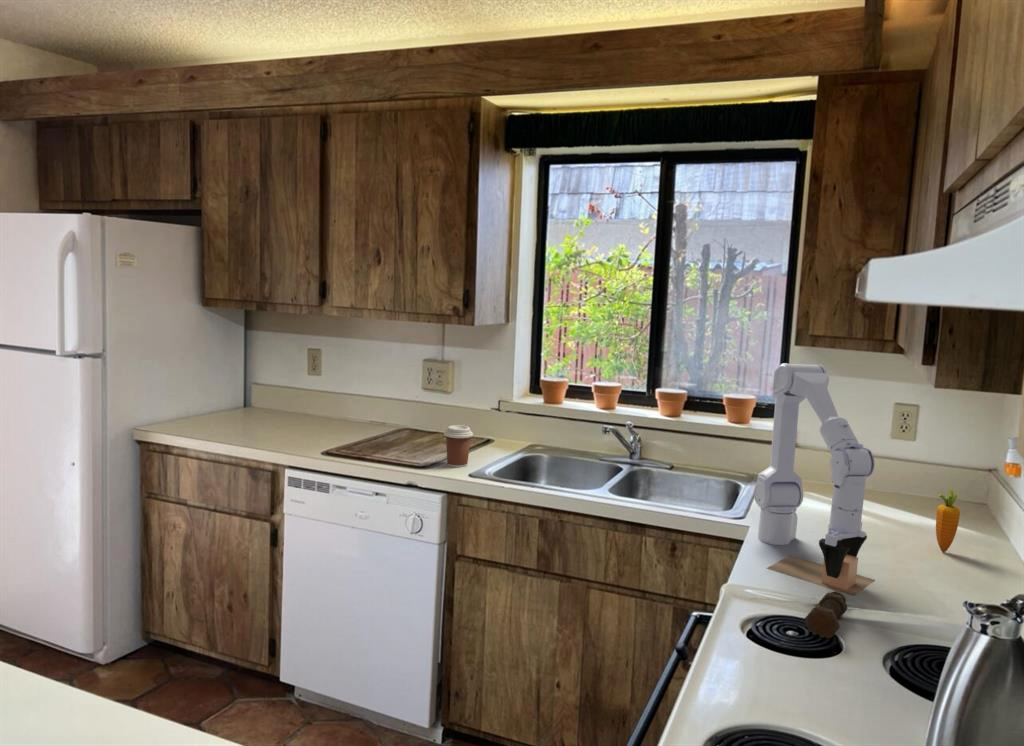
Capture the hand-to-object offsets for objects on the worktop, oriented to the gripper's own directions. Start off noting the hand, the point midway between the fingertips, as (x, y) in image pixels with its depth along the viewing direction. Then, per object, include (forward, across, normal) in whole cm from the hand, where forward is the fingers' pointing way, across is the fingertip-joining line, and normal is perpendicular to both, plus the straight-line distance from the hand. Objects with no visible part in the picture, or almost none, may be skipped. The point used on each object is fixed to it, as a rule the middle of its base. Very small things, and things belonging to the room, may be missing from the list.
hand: (839, 571), depth 155 cm
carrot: (+4, +44, -8) cm, 45 cm away
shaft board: (+4, +2, +4) cm, 6 cm away
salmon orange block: (+2, 0, 0) cm, 2 cm away
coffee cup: (+4, +5, +120) cm, 120 cm away
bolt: (+4, -16, -5) cm, 18 cm away
